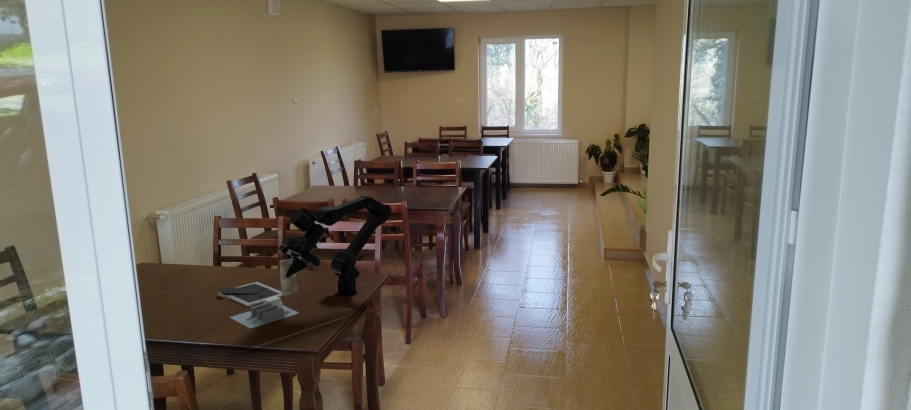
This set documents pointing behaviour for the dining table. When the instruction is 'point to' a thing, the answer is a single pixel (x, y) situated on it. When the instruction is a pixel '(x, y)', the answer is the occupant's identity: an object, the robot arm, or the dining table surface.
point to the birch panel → (287, 283)
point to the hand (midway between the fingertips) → (284, 276)
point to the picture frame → (249, 293)
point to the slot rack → (263, 315)
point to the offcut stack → (273, 301)
